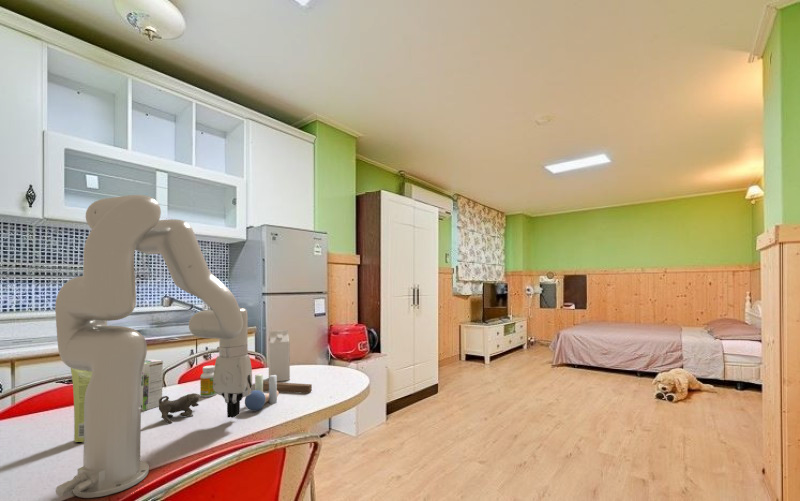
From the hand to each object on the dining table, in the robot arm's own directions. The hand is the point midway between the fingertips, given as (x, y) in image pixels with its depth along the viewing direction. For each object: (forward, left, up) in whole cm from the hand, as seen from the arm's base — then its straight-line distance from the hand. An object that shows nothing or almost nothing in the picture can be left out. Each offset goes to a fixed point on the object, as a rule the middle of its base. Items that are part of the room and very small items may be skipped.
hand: (233, 415), depth 112 cm
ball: (+9, -1, +2) cm, 9 cm away
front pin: (+13, 0, 0) cm, 13 cm away
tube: (-18, +30, -2) cm, 35 cm away
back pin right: (+16, -2, -2) cm, 17 cm away
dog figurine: (0, +18, -2) cm, 18 cm away
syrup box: (+5, +35, -2) cm, 35 cm away
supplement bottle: (+19, +24, -2) cm, 31 cm away
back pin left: (+16, +3, -2) cm, 17 cm away
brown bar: (+28, 0, -2) cm, 28 cm away
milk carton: (+41, +10, -2) cm, 42 cm away
